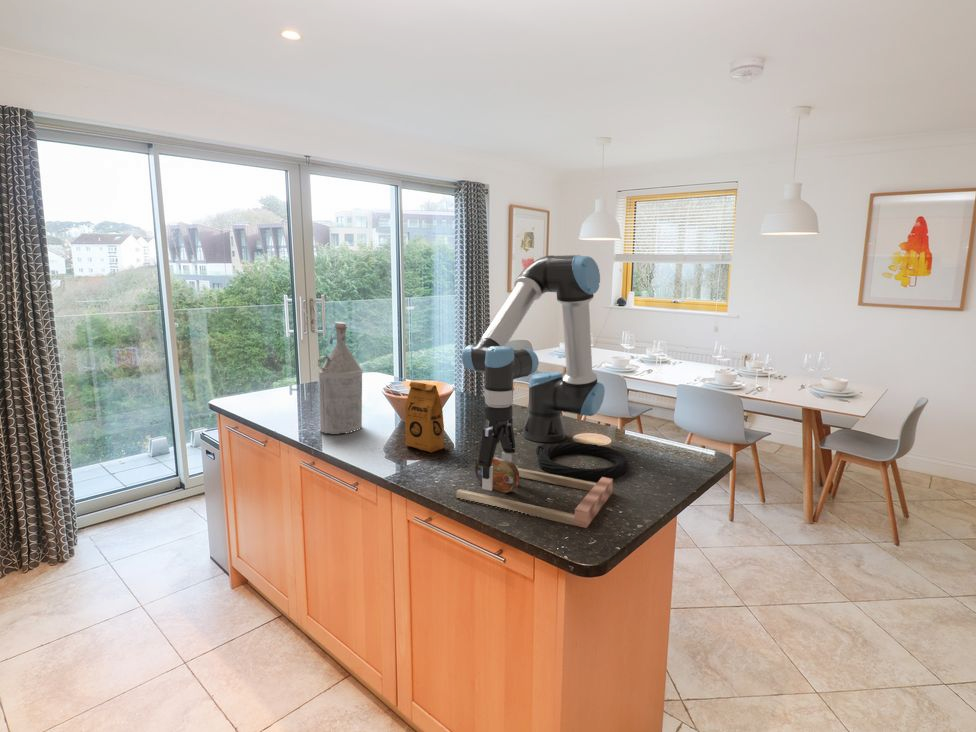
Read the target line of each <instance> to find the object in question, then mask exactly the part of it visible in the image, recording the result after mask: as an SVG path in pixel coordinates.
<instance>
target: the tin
mask: <svg viewBox="0 0 976 732" xmlns="http://www.w3.org/2000/svg"><path fill="white" fill-rule="evenodd" d="M478 460H479V457H478V458H477V460H476V461H475V466H474V471H475V477H476V478H477V480H478V482H479V483H480V484H481V485H482V466H478ZM491 466H493V486H492V490H495V491H497V492H499V493H503V494H508V493H510V492H513V491H515V490H516V489H517V488H518V486H519V483H520V477H519V471H518V469H517V468H518V467H517V466H516V465H515V464H514V463H513V462H512V461H511V462H509V461H507V460H503V459H502V458H501V457H500V458H499V457H498V456H497V457H496V456H494V457H493V461H492V464H491Z"/></svg>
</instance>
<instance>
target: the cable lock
mask: <svg viewBox="0 0 976 732" xmlns="http://www.w3.org/2000/svg"><path fill="white" fill-rule="evenodd" d="M535 451H536V452H535V453H536V455H537V463H538V464H539V466H540V468H542V470H544V471H545V472H546V473H548V474H553V475H558V476H563V477H568V478H574V479H579V480H584V481H589V482H595V481H597V482H598V481H599V480H600V479H601V478H602V477H606V478H611V479H615V478H619V477H620V476H622V475H623V474H625V473H626V472H627V470H628V469H629V468H628V467H629V462H628V461H629V460H628V459H627V458H626V456H625V455H624V454H622V453H620V452H619V451H618V450H615V449H613V448H610V447H608V446H603V445H599V444H592V443H584V442H563V443H558V444H557V443H556V444H552V443H551V444H546V443H543V444H542V443H538V444H537V446H536V449H535ZM578 453H580V454H579V455H581V454H583V455H590V454H593V455H592V456H595V455H596V457H602V458H603V457H604V458H603V459H605V460H608V461H611V462H612V463H614V465H610V466H608V467H598V468H584V467H581V468H580V467H579V468H578V467H573V466H570V465H569V466H568V465H563V464H560V463H558V462H555V461H553V460H551V459H552V458H553V457H555V456H560V455H567V454H568V455H569V454H578Z"/></svg>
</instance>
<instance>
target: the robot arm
mask: <svg viewBox="0 0 976 732" xmlns="http://www.w3.org/2000/svg"><path fill="white" fill-rule="evenodd" d="M600 283H601V274H600V268H599V266H598V263H597V262H596V260H594V259H593V257H591V256H587V255H580V254H578V255H577V254H576V255H575V254H573V255H568V254H567V255H545V256H542V257H540V258H538V259H536V260H534V261H533V262H531V263H530V264H529V265H528V266H527V267H526V268H524V269H523V270H522V271H521V273H520V274H519V275H518V276H517V278H516V279H515V281H514V284H513V286H514V288H513V290H512V291H511V293H510V294H509V296H508V297H507V299H506V300H505V301H504V303H503V305H502V306H501V307H500V309H499V311H497V314H496V315H495V317H494V318H493V319H492V321H491V323H490V324H489V325H488V327H487V329H486V330H485V332H484V333H483V335H482V336H481V338H479V339H480V340H479V341H478V342H477V343H476V344H469V345H467V346H465V347H464V348H463V350H462V354H461V363H462V365H463V367H464V368H466V369H467V370H469V371H472V372H473V371H474V372H477V373H479V372H480V373H485V374H484V380H485V381H484V383H485V384H484V392H483V394H484V403H485V404H484V412H483V413H484V414H483V415H484V418H485V420H487V421H488V427H483V429H482V438H481V444H480V450H479V455H478V458H479V460H478V459H477V460H478V466H482V484H481V485H482V486H481V489H482V490H485V491H489V492H490V491H492V490H493V489H492V486H493V466H491V464H492V461H493V457H495V454H496V450H497V446H498V444H500V445H501V448H502V451H501V459H503V460H507V461H509V462H512V454H515V453H516V441H515V433H514V426H513V423H514V422H513V403H514V380H517V379H519V378H523V377H528V376H530V375H531V376H530V378H529V384H528V414H527V418H526V420H525V423H524V426H523V429H522V437H524V439H527V440H528V441H534V442H539V443H555V442H560V441H563V440H564V439H566V430H565V429H566V428H565V425H564V422H563V419H562V412H564V413H568V414H575V415H580V416H587V417H593V416H595V415H596V414H598V412H599V411H600V409H601V407H602V405H603V403H604V399H605V390H606V389H605V386H604V384H603V383H601V382H598V375H597V373H595V372H594V371H593V361H592V360H593V359H592V356H593V355H592V339H591V337H592V334H591V319H590V318H591V317H590V316H591V315H590V302H591V301H592V300H593V299H594V296H595V295H594V294H596V293H597V292H598V290H599V288H600ZM545 293H556V300H557V301H558V303H560V304H561V307H562V322H563V323H562V324H563V339H564V341H563V342H564V353H565V354H564V357H565V370H566V372H565V373H564V374H563V372H560V371H550V372H549V371H548V372H541V373H536V374H534V373H535V372H536V371H537V370H538V368H539V363H540V362H539V357H538V355H537V354H536V352H535V351H533V350H532V349H530V348H528V349H527V348H525V349H524V348H521V349H514V348H513V347H510V346H507V345H508V343H509V342H510V340H511V338H512V337H513V335H514V334H515V332H516V331H517V329H518V328H519V325H520V324H521V323H522V321H523V319H524V318H525V316H526V314H527V313H528V311H529V310H530V308H531V307H532V305H533V304H534V302H535V301H538V300H540V298H541V297H542V295H543V294H545Z"/></svg>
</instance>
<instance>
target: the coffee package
mask: <svg viewBox="0 0 976 732" xmlns="http://www.w3.org/2000/svg"><path fill="white" fill-rule="evenodd" d="M409 387H410V388H409V391H408V394H407V398H406V401H405V405H404V423H405V427H404V429H405V446H408V447H412V448H414V449H417V450H420V451H424V452H429V453H433V452H436V451H439V450H440V451H441V450H442V449H444V432H445V431H444V430H445V425H444V424H445V423H444V414H443V413H444V412H443V405H442V403H441V398H440V395H439V391H438V388H437V385H435V384H429V383H423V382H416V381H412V380H411V381H410V383H409Z"/></svg>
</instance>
